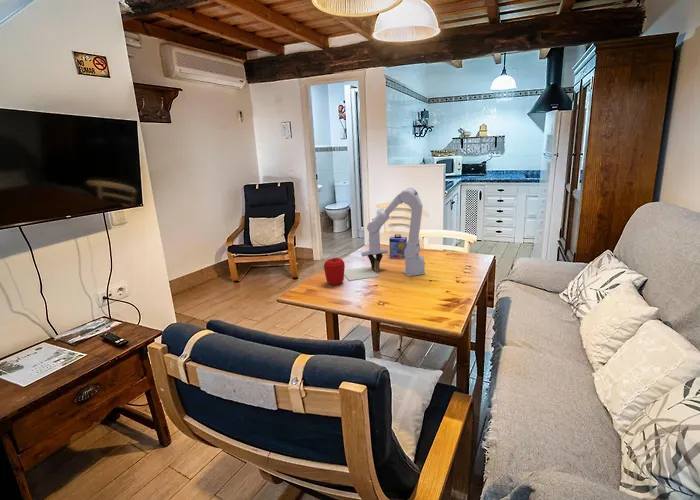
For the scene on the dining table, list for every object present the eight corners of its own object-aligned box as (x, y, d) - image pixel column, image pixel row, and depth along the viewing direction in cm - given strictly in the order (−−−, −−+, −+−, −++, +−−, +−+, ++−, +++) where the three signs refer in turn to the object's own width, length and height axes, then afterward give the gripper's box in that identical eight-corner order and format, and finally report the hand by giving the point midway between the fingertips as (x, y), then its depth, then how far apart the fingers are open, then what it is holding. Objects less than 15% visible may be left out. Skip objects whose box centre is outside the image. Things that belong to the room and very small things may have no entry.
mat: (369, 267, 214) (369, 266, 214) (378, 276, 199) (378, 275, 199) (341, 271, 210) (341, 270, 210) (349, 281, 195) (349, 280, 195)
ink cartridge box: (389, 258, 228) (388, 234, 224) (390, 255, 233) (390, 232, 229) (406, 259, 225) (405, 235, 221) (407, 256, 230) (406, 232, 226)
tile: (374, 267, 214) (374, 257, 212) (379, 271, 206) (379, 261, 204) (371, 268, 213) (370, 257, 211) (376, 272, 206) (375, 261, 204)
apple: (331, 278, 200) (329, 253, 196) (349, 280, 195) (347, 255, 191) (321, 285, 191) (319, 259, 187) (339, 288, 186) (337, 261, 182)
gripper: (384, 240, 211) (385, 263, 215) (359, 243, 207) (360, 266, 211) (389, 243, 204) (389, 267, 208) (363, 246, 201) (364, 270, 205)
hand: (375, 267), depth 209 cm, fingers closed on tile, 2 cm apart
